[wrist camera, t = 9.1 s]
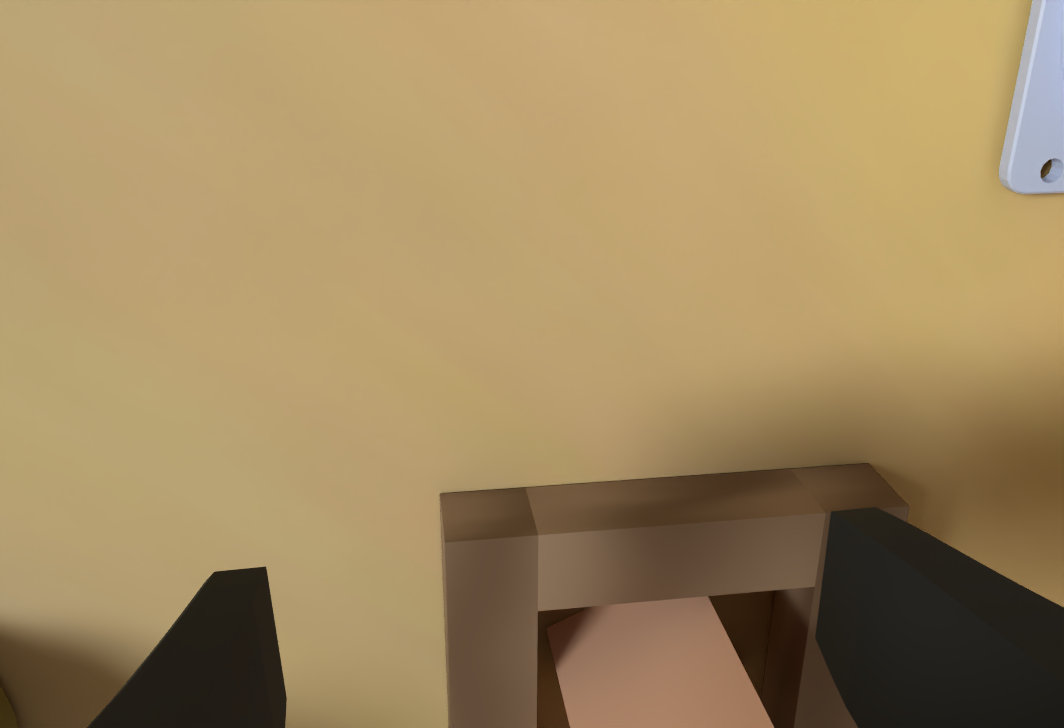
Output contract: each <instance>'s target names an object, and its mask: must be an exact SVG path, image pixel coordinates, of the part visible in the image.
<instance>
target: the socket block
mask: <svg viewBox="0 0 1064 728" xmlns="http://www.w3.org/2000/svg"><path fill="white" fill-rule="evenodd" d="M870 507H876V508H879V509H881V510H883V511H885V512H887V513H889V514H892V515H893V516H895V517H897V518H899V519H901V520H903V521H905V522H907V517H908V511H909V505H908V504H907V503H906V502H905V501H904V500H903V499H902V498H901V497H900V496H899V495H898V494H897V493H896V492H895V491H894V490H893V489H892V488H891V486H890V485H889V484H888V483H887V482H886V481H885V480H884V479H883V478H882V477H881V476H880V475H879V474H878V473H877V472H876V471H875V470H874V469H873V468H872V466H871V465H870V464H869V463H865V464H851V465H837V466H823V467H809V468H795V469H781V470H767V471H753V472H739V473H725V474H710V475H696V476H682V477H668V478H654V479H640V480H626V481H612V482H598V483H584V484H570V485H556V486H541V487H527V488H513V489H499V490H485V491H471V492H457V493H443V494H440V514H441V539H442V565H443V591H444V617H445V643H446V669H447V694H448V720H449V728H537V642H538V611H546V610H558V609H569V608H580V607H591V606H603V605H614V604H625V603H636V602H648V601H659V600H670V599H681V598H693V597H704V596H715V595H727V594H738V593H749V592H760V591H772V590H775V595H774V603H773V611H772V619H771V626H770V634H769V642H768V650H767V657H766V665H765V673H764V681H763V688H762V696H761V702H762V704H763V706H764V708H765V710H766V712H767V714H768V716H769V718H770V720H771V722H772V724H773V726H774V728H858V727H857V725H856V723H855V722H854V720H853V718H852V716H851V715H850V713H849V711H848V710H847V708H846V706H845V704H844V702H843V700H842V698H841V696H840V693H839V691H838V689H837V687H836V685H835V683H834V680H833V678H832V676H831V674H830V672H829V669H828V667H827V664H826V662H825V660H824V657H823V655H822V653H821V650H820V648H819V646H818V643H817V641H816V639H815V634H816V626H817V618H818V610H819V602H820V594H821V587H822V579H823V571H824V563H825V555H826V547H827V539H828V531H829V523H830V515H831V511H839V510H849V509H860V508H870Z"/></svg>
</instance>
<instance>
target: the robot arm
mask: <svg viewBox="0 0 1064 728" xmlns="http://www.w3.org/2000/svg"><path fill="white" fill-rule="evenodd" d="M1050 159H1051V160H1052V167H1051V169H1050V171H1049V173H1048V174H1047V175H1046V176H1045V177H1044V178H1041V173H1040V171H1041V169H1042V167H1043V165H1044V164H1045V163H1046V162H1047V161H1048V160H1050ZM999 179H1000V181H1001V183H1002V185H1003V186H1004V187H1006V188H1007V189H1008V190H1011V191H1013V192H1016V193H1021V194H1045V193H1064V0H1033V2H1032V7H1031V12H1030V17H1029V22H1028V27H1027V32H1026V37H1025V42H1024V47H1023V52H1022V57H1021V62H1020V67H1019V72H1018V77H1017V82H1016V87H1015V92H1014V97H1013V102H1012V107H1011V112H1010V117H1009V122H1008V127H1007V132H1006V137H1005V142H1004V147H1003V152H1002V157H1001V162H1000V167H999ZM815 639H816V641H817V643H818V646H819V648H820V650H821V653H822V655H823V657H824V660H825V662H826V664H827V667H828V669H829V672H830V674H831V676H832V678H833V680H834V683H835V685H836V687H837V689H838V691H839V693H840V696H841V698H842V700H843V702H844V704H845V706H846V708H847V710H848V711H849V713H850V715H851V716H852V718H853V720H854V722H855V723H856V725H857V727H858V728H1064V607H1061V606H1059V605H1058V604H1056V603H1054V602H1052V601H1050V600H1048V599H1046V598H1044V597H1042V596H1040V595H1038V594H1036V593H1034V592H1033V591H1031V590H1029V589H1027V588H1025V587H1023V586H1021V585H1019V584H1018V583H1016V582H1014V581H1012V580H1010V579H1008V578H1006V577H1005V576H1003V575H1001V574H999V573H997V572H996V571H994V570H992V569H990V568H988V567H986V566H985V565H983V564H981V563H979V562H977V561H976V560H974V559H972V558H970V557H968V556H967V555H965V554H963V553H961V552H960V551H958V550H956V549H954V548H952V547H951V546H949V545H947V544H945V543H943V542H942V541H940V540H938V539H936V538H935V537H933V536H931V535H929V534H927V533H925V532H924V531H922V530H920V529H918V528H916V527H915V526H913V525H911V524H909V523H907V522H905V521H903V520H901V519H899V518H897V517H895V516H893V515H892V514H889V513H887V512H885V511H883V510H881V509H879V508H876V507H870V508H860V509H849V510H839V511H831V515H830V523H829V531H828V539H827V547H826V555H825V563H824V571H823V579H822V587H821V594H820V602H819V610H818V618H817V626H816V634H815ZM286 700H287V698H286V691H285V685H284V679H283V672H282V666H281V659H280V653H279V647H278V640H277V634H276V627H275V621H274V614H273V608H272V602H271V595H270V589H269V582H268V576H267V570H266V567H258V568H248V569H238V570H228V571H217V572H214V573H213V574H212V575H211V576H210V577H209V578H208V579H207V580H206V582H205V583H204V584H203V586H202V587H201V588H200V590H199V591H198V592H197V594H196V595H195V596H194V598H193V599H192V600H191V602H190V603H189V604H188V606H187V607H186V608H185V610H184V611H183V612H182V614H181V615H180V616H179V617H178V619H177V620H176V621H175V623H174V624H173V625H172V627H171V628H170V629H169V631H168V632H167V633H166V634H165V636H164V637H163V638H162V640H161V641H160V642H159V643H158V645H157V646H156V647H155V649H154V650H153V651H152V652H151V653H150V655H149V656H148V657H147V658H146V660H145V661H144V662H143V663H142V664H141V666H140V667H139V668H138V669H137V670H136V672H135V673H134V674H133V675H132V677H131V678H130V679H129V680H128V681H127V683H126V684H125V685H124V686H123V688H122V689H121V690H120V691H119V692H118V693H117V695H116V696H115V697H114V698H113V699H112V700H111V702H110V703H109V704H108V705H107V706H106V707H105V708H104V709H103V710H102V712H101V713H100V714H99V715H98V716H97V717H96V718H95V719H94V720H93V721H92V723H91V724H90V725H89V726H88V727H87V728H285V718H286Z"/></svg>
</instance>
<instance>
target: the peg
mask: <svg viewBox="0 0 1064 728" xmlns="http://www.w3.org/2000/svg"><path fill="white" fill-rule="evenodd" d="M546 630H547V634H548V639H549V643H550V647H551V651H552V655H553V659H554V663H555V667H556V671H557V676H558V680H559V684H560V688H561V692H562V696H563V700H564V704H565V708H566V713H567V717H568V721H569V725H570V728H774V726H773V724H772V722H771V720H770V718H769V716H768V714H767V712H766V710H765V708H764V706H763V704H762V702H761V700H760V699H759V697H758V695H757V693H756V691H755V689H754V687H753V685H752V683H751V681H750V679H749V677H748V675H747V673H746V671H745V669H744V667H743V665H742V663H741V661H740V659H739V657H738V655H737V653H736V651H735V649H734V647H733V645H732V643H731V641H730V639H729V637H728V635H727V633H726V631H725V629H724V627H723V625H722V623H721V621H720V619H719V617H718V615H717V613H716V611H715V609H714V607H713V605H712V603H711V601H710V599H709V598H708V596H704V597H693V598H681V599H670V600H659V601H648V602H636V603H625V604H614V605H603V606H591V607H589V608H587V609H585V610H583V611H581V612H579V613H576V614H574V615H572V616H570V617H568V618H566V619H564V620H562V621H560V622H558V623H556V624H554V625H551V626H549V627H547V628H546Z"/></svg>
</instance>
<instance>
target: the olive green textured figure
mask: <svg viewBox="0 0 1064 728" xmlns="http://www.w3.org/2000/svg"><path fill="white" fill-rule="evenodd" d="M0 728H18V724H17V721H16V717H15V714H14V711H13V709H12V707H11V704H10V702H9V700H8V698H7V697H6V695H5V693H4V691H3V690H2V689H1V687H0Z"/></svg>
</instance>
